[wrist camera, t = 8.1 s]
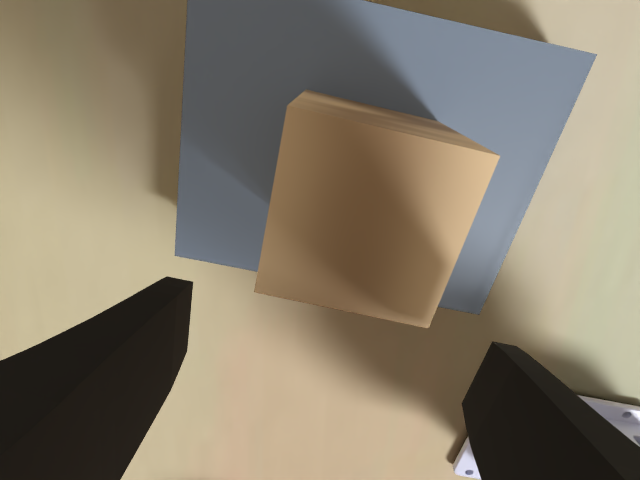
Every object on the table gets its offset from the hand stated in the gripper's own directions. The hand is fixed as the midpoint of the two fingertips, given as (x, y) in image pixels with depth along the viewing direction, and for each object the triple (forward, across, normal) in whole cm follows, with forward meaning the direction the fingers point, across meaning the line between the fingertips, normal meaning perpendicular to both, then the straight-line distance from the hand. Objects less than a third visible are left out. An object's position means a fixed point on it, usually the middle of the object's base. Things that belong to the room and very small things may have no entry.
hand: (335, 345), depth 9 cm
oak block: (+8, 0, -2) cm, 8 cm away
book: (+11, 0, -3) cm, 11 cm away
